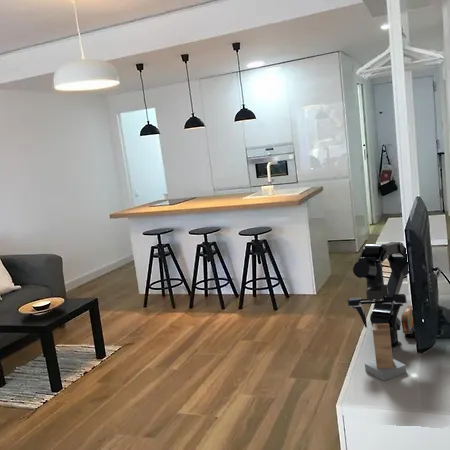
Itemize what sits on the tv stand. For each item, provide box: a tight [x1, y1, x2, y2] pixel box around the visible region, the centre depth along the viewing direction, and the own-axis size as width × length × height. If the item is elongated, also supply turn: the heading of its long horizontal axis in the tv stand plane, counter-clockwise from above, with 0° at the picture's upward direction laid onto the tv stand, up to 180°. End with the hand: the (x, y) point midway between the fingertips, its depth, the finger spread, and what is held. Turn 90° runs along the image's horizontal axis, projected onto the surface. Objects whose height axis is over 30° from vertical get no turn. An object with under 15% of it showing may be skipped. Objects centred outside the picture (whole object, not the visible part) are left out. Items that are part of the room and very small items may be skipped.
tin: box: [400, 305, 413, 336], centre depth 190 cm, size 15×3×8 cm, turn 147°
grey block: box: [364, 358, 407, 382], centre depth 163 cm, size 9×9×2 cm
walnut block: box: [372, 323, 394, 368], centre depth 162 cm, size 5×5×13 cm
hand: (380, 326), depth 168 cm, fingers open, 9 cm apart
